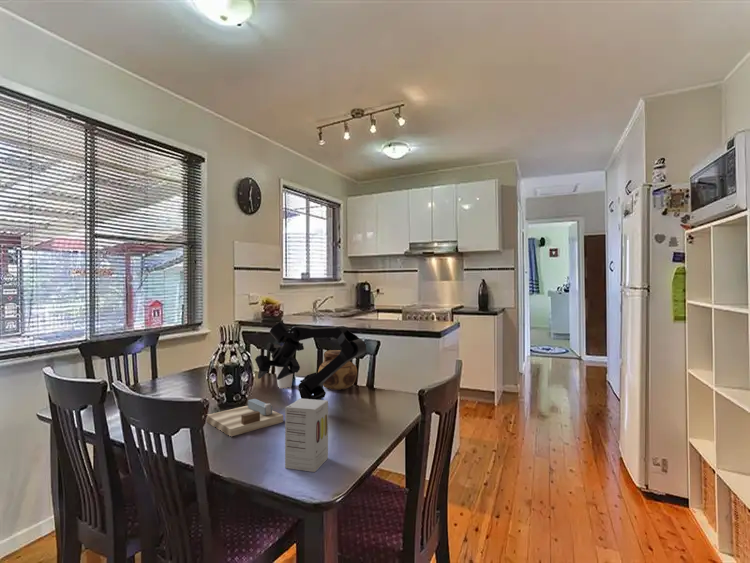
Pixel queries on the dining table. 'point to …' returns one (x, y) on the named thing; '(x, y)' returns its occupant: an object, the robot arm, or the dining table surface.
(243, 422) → the block
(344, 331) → the robot arm
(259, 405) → the hinged leg
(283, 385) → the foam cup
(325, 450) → the supplement box
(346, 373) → the clay pot
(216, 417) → the stool seat
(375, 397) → the dining table surface
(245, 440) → the dining table surface
